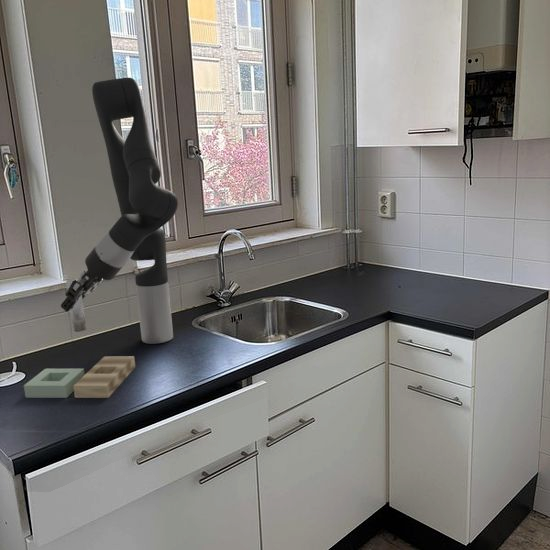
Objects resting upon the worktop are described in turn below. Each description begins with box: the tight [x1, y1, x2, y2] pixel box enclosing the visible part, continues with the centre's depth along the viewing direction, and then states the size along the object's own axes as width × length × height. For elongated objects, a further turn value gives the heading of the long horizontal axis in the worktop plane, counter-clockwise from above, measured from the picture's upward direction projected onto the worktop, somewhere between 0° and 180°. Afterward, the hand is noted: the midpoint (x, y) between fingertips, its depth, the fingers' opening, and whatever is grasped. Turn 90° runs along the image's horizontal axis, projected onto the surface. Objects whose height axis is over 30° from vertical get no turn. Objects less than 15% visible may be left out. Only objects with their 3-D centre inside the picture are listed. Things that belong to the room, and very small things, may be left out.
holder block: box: [23, 368, 86, 399], centre depth 134 cm, size 10×10×3 cm
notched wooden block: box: [73, 355, 136, 399], centre depth 136 cm, size 18×8×3 cm, turn 174°
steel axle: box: [65, 278, 87, 333], centre depth 131 cm, size 3×3×12 cm
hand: (68, 306), depth 131 cm, fingers closed on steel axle, 3 cm apart
